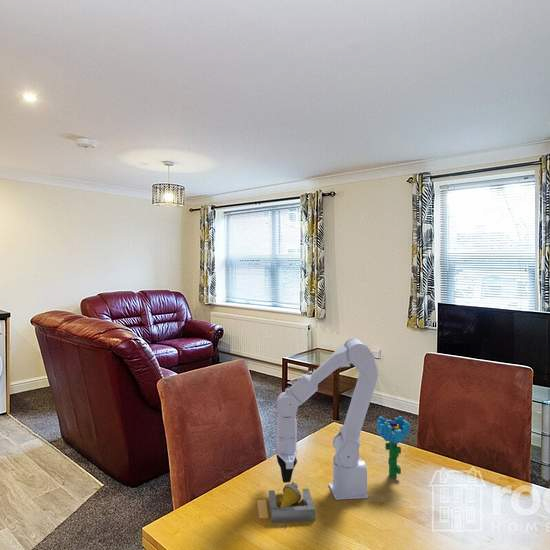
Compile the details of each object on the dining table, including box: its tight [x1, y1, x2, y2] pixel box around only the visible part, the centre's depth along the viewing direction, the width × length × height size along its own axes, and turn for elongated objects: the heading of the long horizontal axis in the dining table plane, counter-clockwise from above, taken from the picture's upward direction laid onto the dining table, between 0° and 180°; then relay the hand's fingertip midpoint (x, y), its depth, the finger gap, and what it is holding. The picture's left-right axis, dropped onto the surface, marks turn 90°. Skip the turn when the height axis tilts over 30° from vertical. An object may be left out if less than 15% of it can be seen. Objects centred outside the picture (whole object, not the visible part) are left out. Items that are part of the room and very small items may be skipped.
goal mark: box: [257, 499, 269, 519], centre depth 108 cm, size 2×8×1 cm, turn 6°
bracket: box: [268, 488, 316, 524], centre depth 107 cm, size 11×10×3 cm
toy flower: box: [376, 415, 411, 479], centre depth 124 cm, size 9×9×18 cm
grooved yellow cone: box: [279, 481, 302, 507], centre depth 109 cm, size 5×5×10 cm
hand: (286, 481), depth 116 cm, fingers closed
